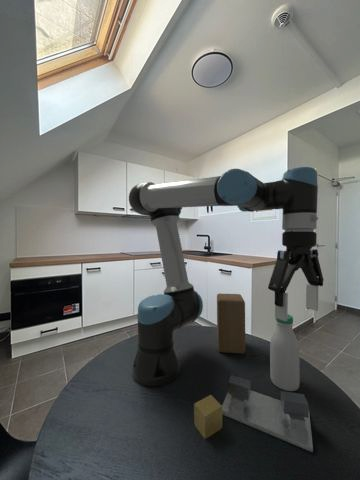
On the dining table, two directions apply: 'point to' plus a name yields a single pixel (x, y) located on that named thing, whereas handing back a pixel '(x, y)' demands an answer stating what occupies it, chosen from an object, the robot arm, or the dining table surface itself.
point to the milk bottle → (284, 356)
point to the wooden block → (231, 323)
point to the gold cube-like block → (208, 416)
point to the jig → (270, 412)
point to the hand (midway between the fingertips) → (297, 313)
